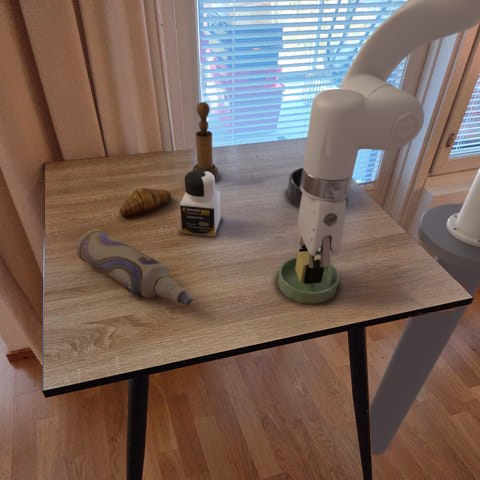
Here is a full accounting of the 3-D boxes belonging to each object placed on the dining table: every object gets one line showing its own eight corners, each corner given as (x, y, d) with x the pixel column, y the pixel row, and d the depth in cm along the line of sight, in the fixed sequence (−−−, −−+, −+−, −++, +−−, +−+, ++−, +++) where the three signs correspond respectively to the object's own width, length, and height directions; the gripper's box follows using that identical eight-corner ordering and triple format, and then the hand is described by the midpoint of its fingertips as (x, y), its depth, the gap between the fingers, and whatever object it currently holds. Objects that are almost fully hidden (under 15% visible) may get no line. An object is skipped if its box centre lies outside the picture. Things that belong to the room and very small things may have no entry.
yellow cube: (315, 267, 79) (318, 250, 76) (321, 281, 76) (325, 263, 73) (295, 269, 78) (297, 251, 75) (300, 282, 75) (303, 265, 73)
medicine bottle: (182, 233, 89) (177, 181, 81) (189, 216, 94) (186, 165, 86) (214, 237, 89) (213, 184, 80) (220, 219, 94) (220, 168, 85)
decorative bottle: (78, 267, 80) (69, 238, 76) (109, 250, 85) (102, 221, 80) (175, 328, 69) (171, 298, 65) (204, 305, 74) (203, 275, 69)
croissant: (161, 193, 101) (159, 173, 98) (178, 204, 98) (177, 184, 95) (113, 212, 95) (108, 192, 91) (129, 224, 91) (126, 204, 88)
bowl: (334, 182, 108) (338, 165, 105) (353, 210, 98) (357, 192, 95) (282, 184, 106) (283, 167, 103) (295, 213, 96) (297, 195, 93)
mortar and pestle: (188, 180, 107) (183, 104, 94) (199, 169, 111) (196, 96, 98) (211, 185, 105) (209, 109, 92) (222, 174, 109) (222, 100, 97)
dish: (326, 264, 83) (328, 253, 81) (344, 301, 75) (347, 290, 74) (272, 268, 82) (273, 258, 80) (285, 306, 74) (286, 295, 72)
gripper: (369, 207, 59) (342, 303, 72) (332, 156, 70) (315, 246, 83) (317, 210, 58) (300, 306, 71) (289, 158, 69) (279, 249, 82)
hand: (308, 273), depth 77 cm, fingers closed on yellow cube, 4 cm apart
